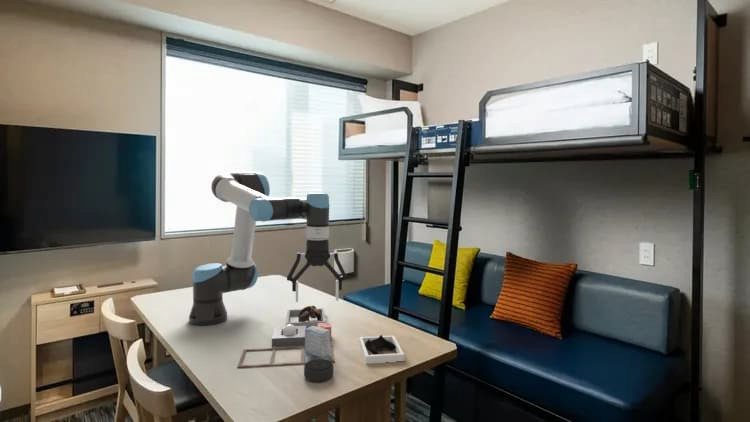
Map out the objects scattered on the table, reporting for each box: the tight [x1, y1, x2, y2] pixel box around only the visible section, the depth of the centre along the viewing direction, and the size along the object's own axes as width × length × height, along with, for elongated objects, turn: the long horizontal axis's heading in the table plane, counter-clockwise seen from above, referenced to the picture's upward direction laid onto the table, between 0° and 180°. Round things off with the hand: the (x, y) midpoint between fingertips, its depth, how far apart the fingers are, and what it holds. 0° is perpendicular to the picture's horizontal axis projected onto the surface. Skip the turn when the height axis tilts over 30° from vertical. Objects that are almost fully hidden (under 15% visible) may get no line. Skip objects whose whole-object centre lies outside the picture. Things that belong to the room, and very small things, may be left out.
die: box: [318, 321, 332, 341], centre depth 160 cm, size 5×5×6 cm
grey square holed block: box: [271, 326, 306, 348], centre depth 158 cm, size 12×12×3 cm
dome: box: [283, 324, 296, 335], centre depth 157 cm, size 5×5×6 cm
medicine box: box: [304, 326, 331, 358], centre depth 144 cm, size 8×4×9 cm, turn 57°
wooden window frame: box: [237, 344, 336, 369], centre depth 143 cm, size 31×14×1 cm, turn 99°
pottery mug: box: [297, 305, 322, 322], centre depth 177 cm, size 12×10×8 cm
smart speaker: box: [303, 359, 334, 383], centre depth 129 cm, size 9×9×4 cm
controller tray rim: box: [358, 335, 405, 365], centre depth 147 cm, size 13×17×2 cm
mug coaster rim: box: [285, 307, 327, 329], centre depth 178 cm, size 16×18×2 cm
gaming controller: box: [365, 334, 395, 355], centre depth 147 cm, size 11×4×7 cm
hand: (317, 300), depth 143 cm, fingers open, 13 cm apart
